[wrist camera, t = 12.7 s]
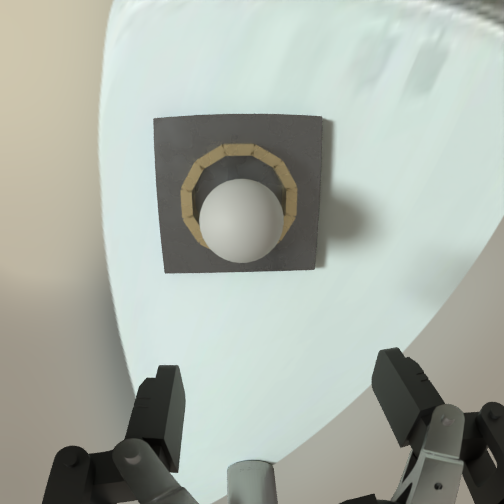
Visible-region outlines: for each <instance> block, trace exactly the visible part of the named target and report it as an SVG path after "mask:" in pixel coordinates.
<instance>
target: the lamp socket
mask: <svg viewBox="0 0 504 504" xmlns="http://www.w3.org/2000/svg"><path fill="white" fill-rule="evenodd" d="M153 120H154V151H155V171H156V187H157V200H158V213H159V224H160V234H161V244H162V253H163V262H164V270H165V273H216V272H258V271H292V270H314V269H315V257H316V245H317V231H318V216H319V198H320V178H321V151H322V116H306V115H284V114H216V115H194V116H178V117H165V118H154V119H153ZM234 179H249V180H254V181H256V182H259V183H261V184H263V185H265V186H266V187H268V188H269V189H270V190H271V191H272V192H273V193H274V195H275V196H276V197H277V199H278V200H279V203H280V205H281V207H282V211H283V215H284V225H283V230H282V234H281V237H280V239H279V241H278V243H277V244H276V246H275V247H274V248H273V249H272V250H271V251H270V252H269V253H268V254H267V255H265V256H264V257H262V258H260V259H258V260H256V261H252V262H248V263H236V262H231V261H228V260H225V259H223V258H221V257H219V256H218V255H216V254H215V253H214V252H213V251H212V250H211V249H210V248H209V247H208V246H207V244H206V242H205V241H204V239H203V237H202V233H201V230H200V223H199V218H200V211H201V208H202V205H203V203H204V201H205V199H206V198H207V196H208V195H209V194H210V192H211V191H212V190H213V189H215V188H216V187H217V186H219V185H220V184H222V183H224V182H226V181H230V180H234Z"/></svg>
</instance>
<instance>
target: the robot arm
mask: <svg viewBox="0 0 504 504" xmlns="http://www.w3.org/2000/svg"><path fill="white" fill-rule="evenodd" d="M372 388H373V391H374V393H375V395H376V397H377V399H378V401H379V403H380V405H381V407H382V409H383V411H384V414H385V416H386V418H387V420H388V422H389V424H390V426H391V428H392V430H393V432H394V435H395V437H396V439H397V441H398V443H399V445H400V447H405V446H408V445H410V446H411V448H412V450H411V452H410V454H409V457H408V460H407V463H406V466H405V469H404V472H403V475H402V477H401V480H400V483H399V485H398V488H397V490H396V492H395V493H394V495H393V497H392V498H391V500H390V501H387V500H376V497H375V494H370V495H367V496H363V497H359V498H355V499H350V500H346V501H344V502H342V503H340V504H455V501H456V497H457V493H458V489H459V485H460V480H461V475H462V474H463V477H464V480H465V482H466V484H467V486H468V489H469V491H470V493H471V496H472V498H473V500H474V503H475V504H504V406H503V405H501V404H500V403H497V402H488V403H486V404H485V405H484V406H483V407H482V409H481V410H480V412H471V413H463V412H462V411H461V410H460V409H459V408H458V407H456V406H454V405H451V404H445V403H444V401H443V400H442V398H441V396H440V395H439V393H438V392H437V390H436V389H435V387H434V386H433V385H432V383H431V382H430V380H428V377H427V376H426V374H424V371H423V370H422V368H421V367H420V366H419V364H418V363H416V362H415V361H414V360H412V359H411V358H410V357H407V358H405V357H404V355H403V354H402V352H401V351H400V349H399V348H397V347H396V348H390V349H384V350H380V351H379V353H378V356H377V360H376V364H375V368H374V371H373V375H372ZM184 413H185V391H184V387H183V383H182V378H181V373H180V369H179V366H178V365H159V367H158V370H157V374H156V378H146V379H145V380H144V381H143V383H142V384H141V385H140V386H139V389H138V392H137V396H136V399H135V403H134V407H133V410H132V414H131V417H130V421H129V425H128V429H127V433H126V436H125V439H124V440H123V441H121V442H120V443H118V444H117V445H116V446H115V447H114V449H113V450H110V451H106V452H100V453H92V454H88V453H87V452H86V451H85V450H84V449H83V448H81V447H78V446H68V447H65V448H63V449H61V450H60V451H59V452H58V453H57V454H56V456H55V459H54V462H53V465H52V468H51V472H50V475H49V479H48V482H47V486H46V490H45V494H44V498H43V501H42V504H117V503H120V502H127V501H134V500H138V502H139V503H140V504H199V503H198V502H197V501H196V500H195V499H194V498H193V497H192V495H191V494H190V493H189V492H188V491H187V490H186V489H185V488H184V487H181V486H180V485H179V483H178V482H177V481H176V480H175V479H174V477H173V476H172V475H171V474H170V472H172V473H178V469H179V459H180V449H181V440H182V431H183V422H184ZM487 448H489V449H490V450H491V452H492V454H493V456H494V458H495V460H496V462H497V468H496V466H495V464H494V462H493V460H492V459H491V457H490V455H489V453H488V451H487ZM227 494H228V504H278V501H277V494H276V485H275V476H274V468H273V466H272V465H270V464H269V463H266V462H262V461H243V462H238V463H235V464H233V465H231V466H230V467H229V468H228V470H227Z"/></svg>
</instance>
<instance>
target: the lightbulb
mask: <svg viewBox="0 0 504 504" xmlns="http://www.w3.org/2000/svg"><path fill="white" fill-rule="evenodd" d="M199 223H200V230H201V233H202V237H203V239H204V241H205V242H206V244H207V246H208V247H209V248H210V249H211V250H212V251H213V252H214V253H215V254H216V255H218V256H219V257H221V258H223V259H225V260H228V261H231V262H236V263H248V262H252V261H256V260H258V259H260V258H262V257H264V256H265V255H267V254H268V253H269V252H270V251H271V250H272V249H273V248H274V247H275V246H276V244H277V243H278V241H279V239H280V237H281V234H282V230H283V225H284V215H283V211H282V207H281V205H280V203H279V200H278V199H277V197H276V196H275V195H274V193H273V192H272V191H271V190H270V189H269V188H268V187H266V186H265V185H263V184H261V183H259V182H256V181H254V180H249V179H234V180H230V181H226V182H224V183H222V184H220V185H219V186H217V187H216V188H215V189H213V190H212V191H211V192H210V194H209V195H208V196H207V198H206V199H205V201H204V203H203V205H202V208H201V211H200V218H199Z"/></svg>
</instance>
